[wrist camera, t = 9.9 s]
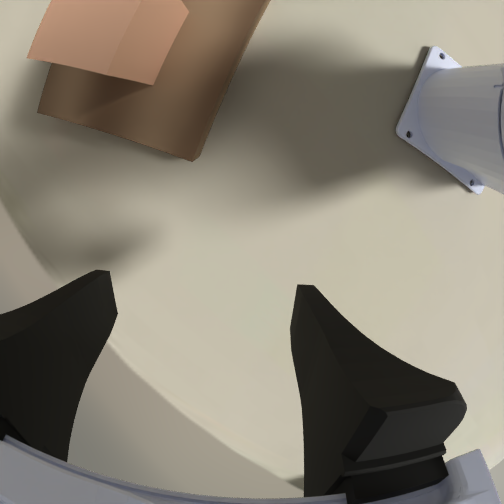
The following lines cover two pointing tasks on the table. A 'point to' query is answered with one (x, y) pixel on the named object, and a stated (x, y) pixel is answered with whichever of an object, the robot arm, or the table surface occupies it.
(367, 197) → the table surface
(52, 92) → the walnut block
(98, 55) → the terracotta block
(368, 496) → the robot arm
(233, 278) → the table surface
